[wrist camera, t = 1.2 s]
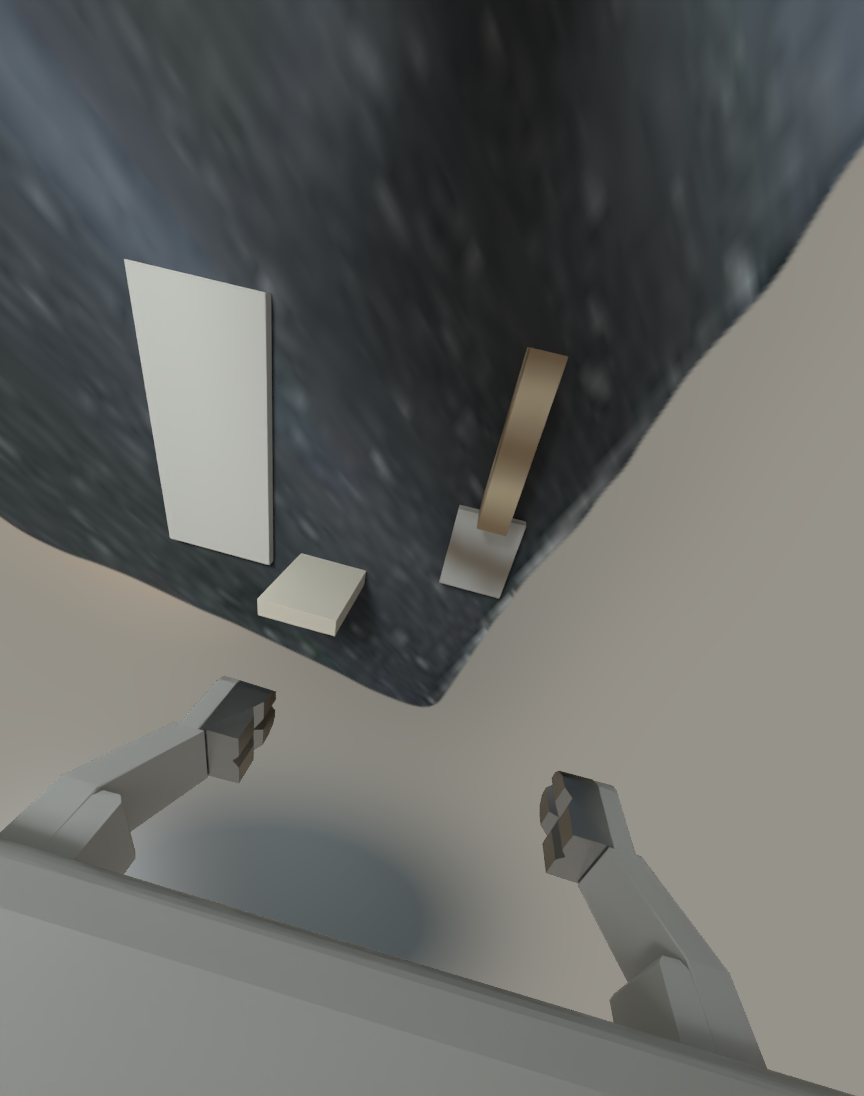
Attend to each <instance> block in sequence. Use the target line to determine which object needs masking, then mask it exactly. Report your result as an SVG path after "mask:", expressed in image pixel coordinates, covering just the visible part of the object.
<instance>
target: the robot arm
mask: <svg viewBox="0 0 864 1096" xmlns="http://www.w3.org/2000/svg"><path fill="white" fill-rule="evenodd" d="M275 700H276V691H273V690H269V689H266V688H263V687H260V686H256V685H253V684H250V683H247V682H244V681H240V680H237V679H234V678H230V677H227V676H223V677H221V678H220V679H218V680H217V681H216V682H215V683H214V684H213V686H212V687H211V688H210V689H209V690H208V691H207V692H206V694H205V695H204V696H203V697H202V698H201V699H200V700H199V701H198V702H197V704H196V705H195V706H194V707H193V708H192V709H191V710H190V712H189V713H188V714H187V715H186V716H185V717H184V718H183V719H182V721H181V722H180V723H176V722H172V723H170V724H168V725H166V726H164V727H162V728H160V729H158V730H156V731H153V732H152V733H149V734H147V735H145V736H143V737H141V738H139V739H137V740H134V741H133V742H130V743H128V744H126V745H124V746H122V747H120V748H118V749H116V750H114V751H111V752H109V753H107V754H105V755H103V756H101V757H99V758H97V759H94V760H92V761H90V762H88V763H86V764H84V765H82V766H80V767H78V768H75V769H73V770H72V771H69V772H67V773H65V774H63V775H61V776H60V777H59V778H58V779H57V780H56V781H55V782H54V783H53V784H52V785H50V786H49V787H48V788H47V789H46V790H45V791H44V792H43V793H42V794H41V795H40V796H39V797H38V798H37V799H35V801H33V802H32V803H31V804H30V805H29V806H28V807H27V808H26V809H25V810H24V811H23V812H22V813H21V814H20V815H19V816H17V817H16V818H15V819H14V820H13V821H12V822H11V823H10V824H9V825H8V826H7V827H6V828H5V829H4V830H2V831H1V832H0V1096H854V1095H851V1094H848V1093H844V1092H841V1091H838V1090H835V1089H832V1088H828V1087H825V1086H821V1085H818V1084H815V1083H812V1082H808V1081H805V1080H801V1079H798V1078H795V1077H792V1076H788V1075H785V1074H782V1073H778V1072H775V1071H772V1070H769V1069H767V1067H766V1065H765V1062H764V1059H763V1057H762V1054H761V1052H760V1049H759V1047H758V1044H757V1042H756V1039H755V1037H754V1034H753V1031H752V1029H751V1026H750V1024H749V1021H748V1019H747V1016H746V1014H745V1011H744V1008H743V1006H742V1003H741V1001H740V998H739V996H738V993H737V991H736V988H735V986H734V983H733V980H732V978H731V976H730V973H729V972H728V971H727V969H726V968H725V967H724V965H723V964H722V963H721V961H720V960H719V959H718V957H717V956H716V955H715V953H714V952H713V951H712V949H711V948H710V947H709V945H708V944H707V943H706V941H705V940H704V939H703V937H702V936H701V935H700V933H699V932H698V931H697V929H696V928H695V927H694V925H693V924H692V923H691V921H690V920H689V919H688V918H687V916H686V915H685V914H684V912H683V911H682V910H681V908H680V907H679V906H678V904H677V903H676V902H675V900H674V899H673V898H672V896H671V895H670V894H669V892H668V891H667V890H666V888H665V887H664V886H663V884H662V883H661V882H660V880H659V879H658V878H657V876H656V875H655V874H654V872H653V871H652V870H651V869H650V867H649V866H648V865H647V863H646V862H645V861H644V859H643V858H642V857H641V856H638V855H636V854H635V851H634V847H633V844H632V841H631V837H630V834H629V831H628V827H627V825H626V821H625V818H624V814H623V811H622V808H621V805H620V801H619V798H618V794H617V791H616V790H615V788H614V787H613V786H611V785H608V784H604V783H600V782H597V781H593V780H592V779H587V778H584V777H580V776H576V775H573V774H569V773H565V772H561V771H557V772H555V774H554V775H553V777H552V783H553V785H551V786H549V787H547V788H546V789H545V790H544V792H543V794H542V798H541V803H540V823H541V826H542V828H543V829H544V831H545V833H546V834H547V837H546V839H545V840H544V842H543V851H544V860H545V868H546V873H548V874H551V875H555V876H557V877H560V878H563V879H567V880H570V881H573V882H576V883H579V884H578V887H579V889H580V891H581V892H582V895H583V896H584V898H585V900H586V902H587V904H588V906H589V908H590V910H591V912H592V914H593V916H594V918H595V920H596V922H597V924H598V925H599V927H600V929H601V931H602V933H603V935H604V937H605V939H606V941H607V943H608V945H609V947H610V949H611V951H612V953H613V955H614V957H615V959H616V961H617V962H618V964H619V966H620V968H621V970H622V972H623V974H624V976H625V978H626V980H627V982H628V983H627V984H626V985H624V986H623V987H622V988H621V989H619V990H618V991H617V992H616V993H614V995H613V996H612V998H611V999H610V1005H611V1010H612V1016H613V1022H614V1023H613V1022H610V1021H606V1020H603V1019H600V1018H597V1017H593V1016H590V1015H587V1014H583V1013H580V1012H577V1011H573V1010H570V1009H567V1008H563V1007H560V1006H557V1005H554V1004H550V1003H547V1002H543V1001H540V1000H537V999H534V998H530V997H527V996H524V995H520V994H517V993H514V992H510V991H507V990H504V989H500V988H497V987H494V986H490V985H487V984H484V983H481V982H477V981H473V980H471V979H467V978H464V977H461V976H458V975H454V974H451V973H448V972H444V971H441V970H438V969H434V968H431V967H428V966H424V965H421V964H418V963H414V962H411V961H408V960H404V959H401V958H398V957H395V956H391V955H388V954H385V953H381V952H378V951H375V950H371V949H368V948H365V947H361V946H358V945H355V944H352V943H348V942H345V941H342V940H338V939H335V938H332V937H328V936H325V935H322V934H318V933H315V932H312V931H309V930H305V929H302V928H299V927H295V926H292V925H289V924H285V923H282V922H279V921H276V920H272V919H269V918H265V917H262V916H259V915H256V914H252V913H249V912H245V911H242V910H239V909H236V908H232V907H229V906H226V905H222V904H219V903H216V902H212V901H209V900H206V899H203V898H199V897H196V896H193V895H189V894H186V893H183V892H179V891H176V890H173V889H169V888H166V887H163V886H160V885H156V884H153V883H149V882H146V881H143V880H140V879H136V878H133V877H130V876H126V875H124V873H125V872H126V870H127V869H128V868H129V866H130V865H131V863H132V862H133V861H134V859H135V848H134V844H133V841H132V837H131V833H130V832H131V831H132V830H134V829H135V828H136V827H138V826H139V825H140V824H142V823H143V822H145V821H146V820H148V819H149V818H151V817H152V816H153V815H155V814H156V813H158V812H159V811H161V810H162V809H163V808H165V807H166V806H168V805H169V804H170V803H172V802H173V801H175V800H176V799H178V798H179V797H180V796H182V795H183V794H185V793H186V792H188V791H189V790H190V789H192V788H193V787H195V786H196V785H198V784H199V783H200V782H202V781H203V780H205V779H206V778H207V777H208V775H209V776H213V777H216V778H221V779H224V780H228V781H232V782H236V783H239V782H240V781H241V779H242V778H243V776H244V774H245V773H246V771H247V769H248V768H249V766H250V765H251V763H252V761H253V756H254V750H255V749H256V748H258V747H260V746H261V745H263V743H264V742H265V740H266V738H267V736H268V735H269V732H270V729H271V727H272V725H273V722H274V718H275V709H274V708H273V707H272V705H273V703H274V702H275Z"/></svg>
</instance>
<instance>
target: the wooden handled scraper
mask: <svg viewBox="0 0 864 1096" xmlns="http://www.w3.org/2000/svg"><path fill="white" fill-rule="evenodd" d="M567 360H568V356H564V355H560V354H556V353H551V352H547V351H543V350H539V349H535V348H530V347H527V350H526V353H525V357H524V360H523V363H522V367H521V370H520V374H519V377H518V380H517V384H516V387H515V390H514V394H513V397H512V401H511V404H510V407H509V411H508V414H507V418H506V421H505V424H504V428H503V431H502V435H501V438H500V441H499V445H498V448H497V452H496V455H495V458H494V462H493V465H492V469H491V472H490V475H489V479H488V482H487V486H486V489H485V492H484V496H483V499H482V503H481V506H480V509H475V508H471V507H467V506H464V505H459V509H458V513H457V517H456V520H455V524H454V528H453V532H452V536H451V539H450V543H449V547H448V551H447V555H446V558H445V562H444V566H443V570H442V573H441V577H440V581H439V583H443V584H447V585H450V586H454V587H458V588H462V589H465V590H469V591H473V592H477V593H480V594H484V595H488V596H491V597H495V598H500V596H501V593H502V590H503V587H504V585H505V582H506V579H507V577H508V574H509V571H510V569H511V566H512V563H513V561H514V558H515V555H516V553H517V550H518V547H519V544H520V542H521V539H522V536H523V534H524V531H525V528H526V522H525V521H522V520H518V519H514V518H513V515H514V512H515V509H516V506H517V504H518V501H519V498H520V495H521V492H522V489H523V486H524V483H525V480H526V478H527V475H528V472H529V469H530V466H531V463H532V460H533V457H534V455H535V452H536V449H537V446H538V443H539V440H540V437H541V434H542V432H543V429H544V426H545V423H546V420H547V417H548V414H549V411H550V408H551V406H552V403H553V400H554V397H555V394H556V391H557V388H558V385H559V383H560V380H561V377H562V374H563V371H564V368H565V365H566V362H567Z"/></svg>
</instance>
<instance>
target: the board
mask: <svg viewBox="0 0 864 1096" xmlns="http://www.w3.org/2000/svg"><path fill="white" fill-rule="evenodd" d="M124 262H125V268H126V274H127V280H128V286H129V292H130V299H131V305H132V311H133V317H134V323H135V329H136V335H137V341H138V347H139V353H140V359H141V365H142V371H143V377H144V383H145V389H146V395H147V401H148V407H149V413H150V420H151V426H152V432H153V438H154V444H155V450H156V456H157V462H158V468H159V474H160V480H161V486H162V492H163V498H164V504H165V510H166V516H167V522H168V528H169V534H170V538H171V539H175V540H179V541H182V542H186V543H190V544H193V545H197V546H201V547H204V548H208V549H212V550H216V551H219V552H223V553H227V554H230V555H234V556H238V557H241V558H245V559H249V560H252V561H256V562H260V563H263V564H267V565H270V564H271V563H272V562H273V458H272V330H271V294H270V293H265V292H261V291H257V290H253V289H249V288H245V287H240V286H236V285H232V284H228V283H224V282H219V281H215V280H211V279H207V278H203V277H199V276H194V275H190V274H186V273H182V272H178V271H174V270H169V269H165V268H161V267H157V266H153V265H148V264H144V263H140V262H136V261H132V260H127V259H124Z"/></svg>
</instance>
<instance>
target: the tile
mask: <svg viewBox="0 0 864 1096" xmlns="http://www.w3.org/2000/svg"><path fill="white" fill-rule="evenodd" d="M365 576H366V571H365V570H361V569H358V568H354V567H350V566H346V565H343V564H339V563H335V562H332V561H328V560H324V559H320V558H317V557H313V556H309V555H306V554H302V553H301V554H300V555H299V556H298V557H297V558H296V559H295V560H294V561H293V562H292V563H291V564H290V565H289V566H288V567H287V568H286V569H285V571H284V572H283V573H282V574H281V575H280V576H279V577H278V578H277V579H276V580H275V581H274V582H273V583H272V584H271V585H270V586H269V587H268V588H267V589H266V590H265V591H264V592H263V593H262V594H261V596H260V597H259V598H258V599H257V603H258V615H260V616H264V617H267V618H271V619H274V620H278V621H282V622H285V623H289V624H292V625H296V626H300V627H303V628H307V629H310V630H314V631H317V632H321V633H325V634H328V635H332V636H335V635H336V633H337V631H338V630H339V628H340V626H341V624H342V623H343V621H344V619H345V617H346V616H347V614H348V612H349V610H350V609H351V607H352V605H353V604H354V602H355V600H356V598H357V597H358V595H359V593H360V591H361V590H362V588H363V586H364V583H365Z"/></svg>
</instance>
